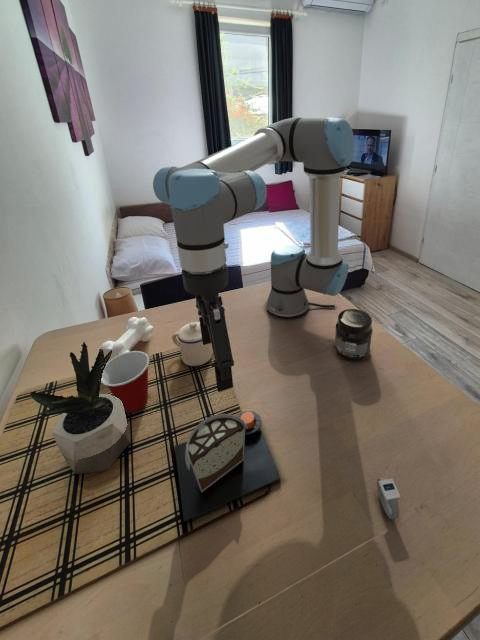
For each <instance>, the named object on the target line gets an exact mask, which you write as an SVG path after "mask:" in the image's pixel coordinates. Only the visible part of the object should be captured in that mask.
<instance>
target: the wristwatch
mask: <svg viewBox="0 0 480 640" xmlns="http://www.w3.org/2000/svg"><path fill="white" fill-rule="evenodd" d="M376 485H377V487H376V488H377V493H378V497H379V500H380V503H381V506H382V508H383V511H384V512H385V514H386V516H387V517H388V519H390V520H397V519H399V517H400V508H399V502H398V500H401V499H402V496H401V493H400V492H399V490H398V487H397V485H396V484H395V481H394V479H393V478H387V477H386V476H385V477H379V478H378V479H377V481H376Z"/></svg>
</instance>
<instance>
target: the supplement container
mask: <svg viewBox="0 0 480 640" xmlns="http://www.w3.org/2000/svg"><path fill="white" fill-rule="evenodd" d="M372 323H373V319H372V316H371V315H370V314H369V313H368V312H366V311H364V310H362V309H358V308H346V309H344V310H342V311H340V312H339V314H338V316H337V322H336V323H335V337H334V346H333V348H334V351H335V353H336V354H337V356H339V357H340V358H341V359H342V360H345V361H349V362H361V361H365V359H367V358H368V357H369V356H370V353H371V344H372V337H373V333H374V329H373V326H372Z"/></svg>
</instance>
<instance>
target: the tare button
mask: <svg viewBox="0 0 480 640" xmlns="http://www.w3.org/2000/svg"><path fill="white" fill-rule="evenodd" d="M244 412H245V411H244ZM241 419H242V420H243V421H244V422H245V423H246V424H247V427H248V429H250V428H252V427H253V426H254V423H255V421H254V414H253V413H251V412H245V413H243V414H242V415H241ZM245 429H247V428H246V427H245Z"/></svg>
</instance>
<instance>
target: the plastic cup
mask: <svg viewBox="0 0 480 640" xmlns="http://www.w3.org/2000/svg"><path fill="white" fill-rule="evenodd" d="M105 364H106V366H105V368H104V370H103V373H102V378H101V382H100V383H101V384H103V385H104V386H106V387H107V388H108V390H109V391H110V392H111V393H110V394H112V396H113V397H114V396H115V397H117V398H119V399H120V400H121V401H122V403H123V406H124V408H125V411H126V412H125V411H124V412H125V413H129V414H132V413H136V412H138V411H140V410H142V409H143V408H145V406H146V405H147V403H148V400H149V364H150V358H149V355H148V353H146V352H144V351H139V350H132V351H131V350H130V352H126V353H123V354H121V355H118V356H116V357H114V358H113V359H111V360H110V361H108V362H107V363H105ZM115 397H114V398H115Z"/></svg>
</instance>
